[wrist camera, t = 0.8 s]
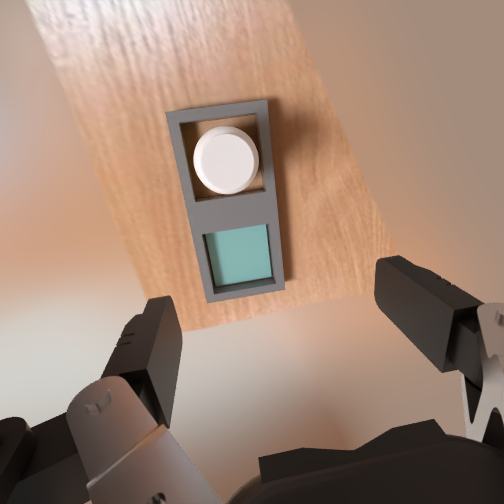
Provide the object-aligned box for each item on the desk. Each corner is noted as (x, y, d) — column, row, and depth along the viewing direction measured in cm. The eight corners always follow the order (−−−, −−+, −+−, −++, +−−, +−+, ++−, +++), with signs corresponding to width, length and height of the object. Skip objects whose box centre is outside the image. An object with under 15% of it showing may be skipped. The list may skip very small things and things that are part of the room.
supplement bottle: (238, 121, 28) (249, 109, 19) (257, 173, 30) (275, 184, 21) (189, 142, 28) (176, 140, 19) (211, 192, 30) (209, 212, 21)
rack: (168, 114, 27) (165, 112, 25) (263, 102, 28) (267, 99, 26) (207, 295, 34) (207, 303, 33) (281, 282, 35) (285, 289, 33)
